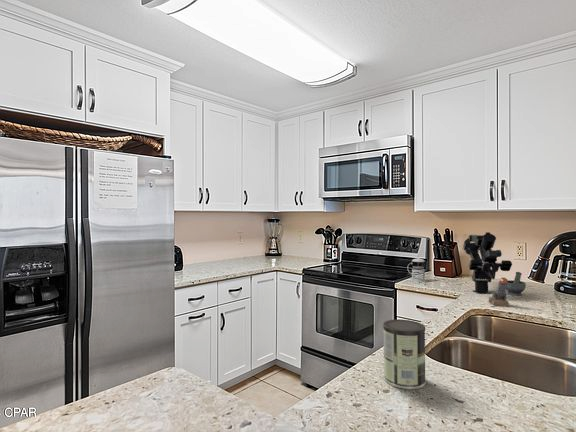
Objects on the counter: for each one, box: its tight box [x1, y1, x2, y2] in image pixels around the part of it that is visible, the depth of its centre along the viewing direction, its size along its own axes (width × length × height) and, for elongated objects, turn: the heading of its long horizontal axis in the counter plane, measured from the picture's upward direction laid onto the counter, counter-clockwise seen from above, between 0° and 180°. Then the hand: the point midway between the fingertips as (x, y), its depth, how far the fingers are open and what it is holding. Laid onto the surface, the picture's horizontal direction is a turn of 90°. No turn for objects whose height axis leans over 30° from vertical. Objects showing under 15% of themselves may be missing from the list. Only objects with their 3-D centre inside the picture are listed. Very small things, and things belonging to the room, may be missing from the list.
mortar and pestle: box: [506, 271, 527, 297], centre depth 189 cm, size 11×9×12 cm
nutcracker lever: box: [495, 277, 508, 299], centre depth 163 cm, size 3×3×12 cm
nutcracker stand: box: [488, 292, 509, 308], centre depth 167 cm, size 8×6×6 cm
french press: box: [407, 243, 426, 282], centre depth 228 cm, size 10×12×25 cm
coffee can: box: [382, 319, 427, 390], centre depth 89 cm, size 10×10×14 cm
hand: (493, 278), depth 174 cm, fingers closed
